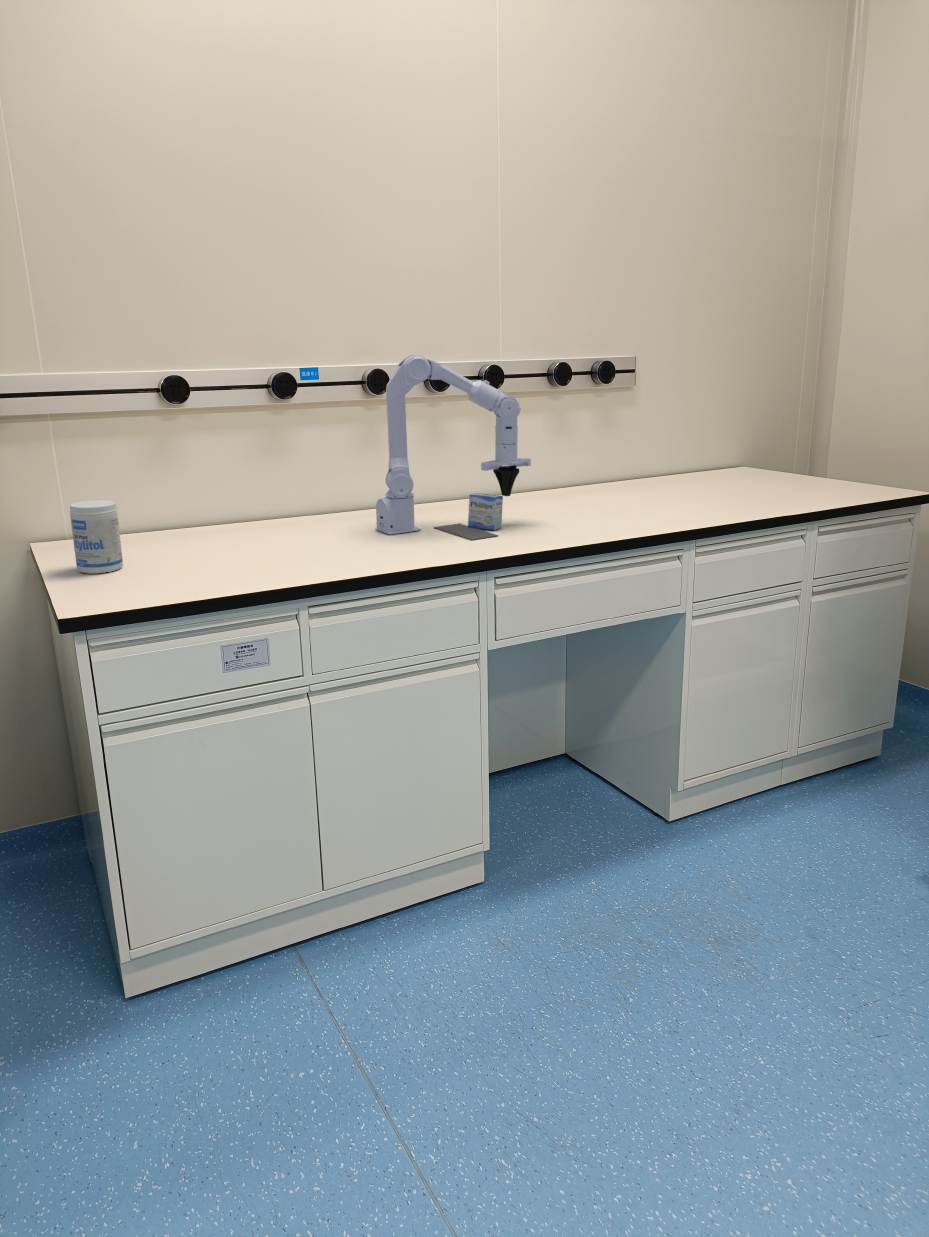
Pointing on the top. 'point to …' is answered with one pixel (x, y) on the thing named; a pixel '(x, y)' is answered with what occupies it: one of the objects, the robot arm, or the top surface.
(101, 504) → the supplement tub
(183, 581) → the top surface
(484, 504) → the medicine box
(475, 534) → the rubber mat
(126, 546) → the top surface
